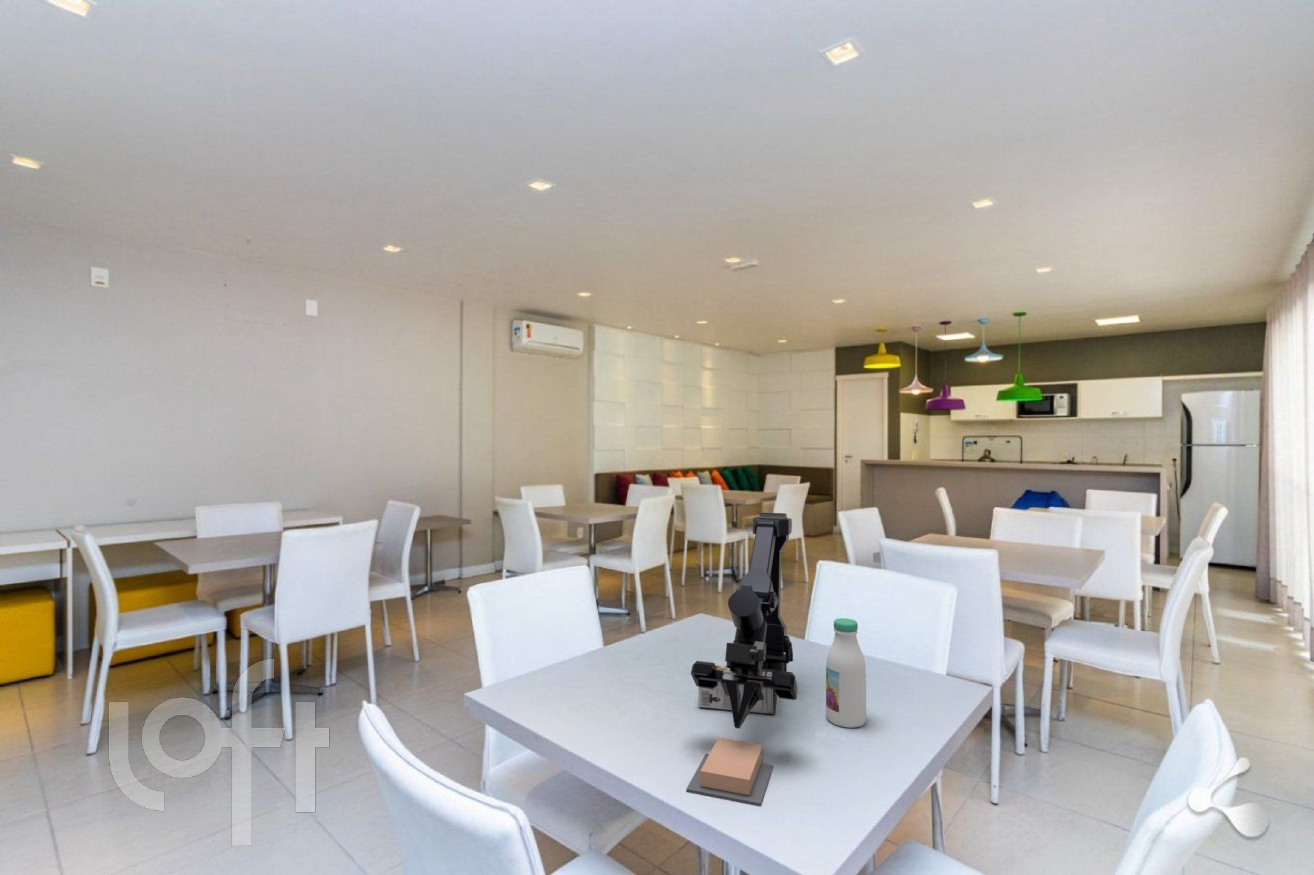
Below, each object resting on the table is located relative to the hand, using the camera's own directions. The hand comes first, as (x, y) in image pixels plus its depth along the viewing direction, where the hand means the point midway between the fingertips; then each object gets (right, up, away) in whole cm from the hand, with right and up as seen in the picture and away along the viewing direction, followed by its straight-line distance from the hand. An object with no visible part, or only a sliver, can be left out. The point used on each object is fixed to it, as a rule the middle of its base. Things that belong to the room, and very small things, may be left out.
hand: (736, 727), depth 108 cm
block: (+1, -5, +3) cm, 6 cm away
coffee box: (-4, -3, +27) cm, 28 cm away
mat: (-2, -7, -4) cm, 8 cm away
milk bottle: (+24, -7, +17) cm, 31 cm away
